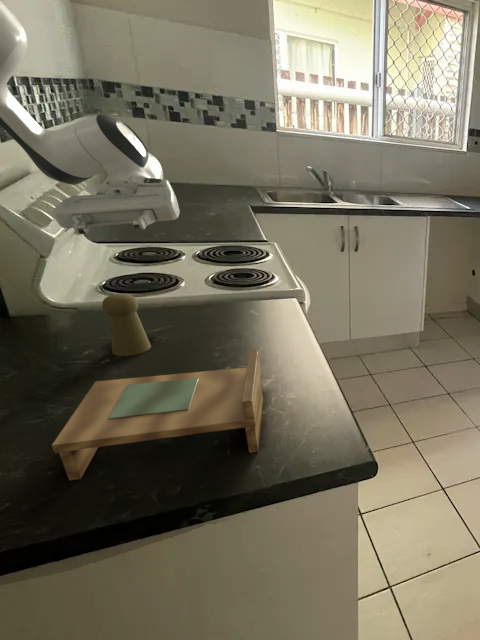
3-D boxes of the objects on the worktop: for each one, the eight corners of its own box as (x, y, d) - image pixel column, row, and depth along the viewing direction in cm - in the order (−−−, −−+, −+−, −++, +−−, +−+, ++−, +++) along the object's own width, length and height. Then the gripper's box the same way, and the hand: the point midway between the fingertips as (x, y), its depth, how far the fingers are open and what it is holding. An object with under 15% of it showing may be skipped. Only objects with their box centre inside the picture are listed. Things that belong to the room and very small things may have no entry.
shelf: (65, 483, 60) (43, 424, 56) (105, 414, 73) (90, 363, 69) (259, 453, 68) (251, 400, 65) (264, 396, 82) (258, 350, 78)
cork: (115, 344, 93) (101, 291, 89) (153, 340, 96) (140, 289, 91) (109, 357, 88) (93, 302, 84) (148, 353, 91) (135, 300, 87)
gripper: (59, 185, 95) (32, 218, 85) (176, 179, 100) (163, 208, 91) (76, 214, 99) (52, 248, 89) (187, 206, 104) (176, 238, 95)
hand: (109, 228), depth 90 cm, fingers open, 8 cm apart
